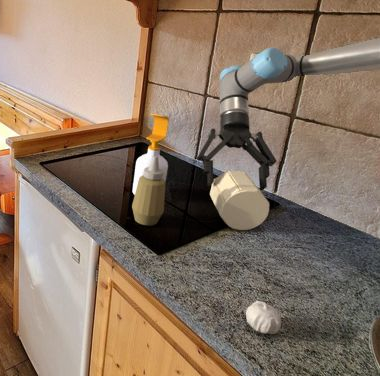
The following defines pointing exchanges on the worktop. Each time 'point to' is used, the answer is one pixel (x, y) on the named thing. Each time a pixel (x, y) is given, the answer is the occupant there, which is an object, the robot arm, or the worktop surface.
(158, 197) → the squeeze bottle
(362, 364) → the worktop surface
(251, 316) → the garlic
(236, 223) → the bin
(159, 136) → the soap bottle
